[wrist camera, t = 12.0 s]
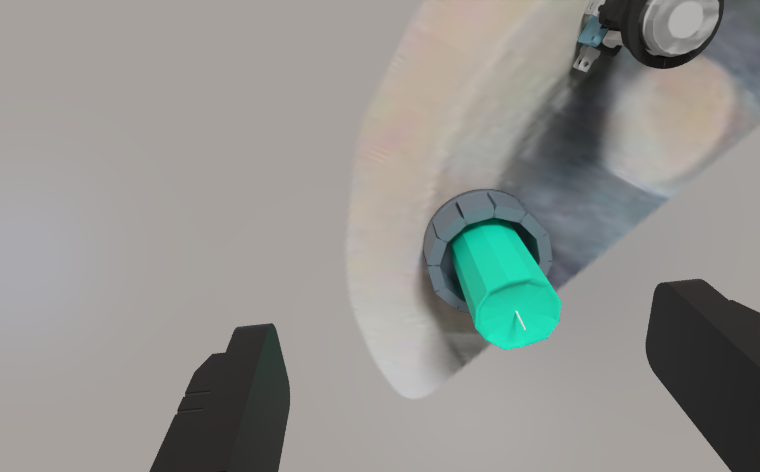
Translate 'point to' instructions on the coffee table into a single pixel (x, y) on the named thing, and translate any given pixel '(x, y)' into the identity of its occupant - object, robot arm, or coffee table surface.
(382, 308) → the coffee table surface
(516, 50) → the coffee table surface
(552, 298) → the candle
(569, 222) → the coffee table surface
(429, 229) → the candle dish
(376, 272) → the coffee table surface
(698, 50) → the push button
